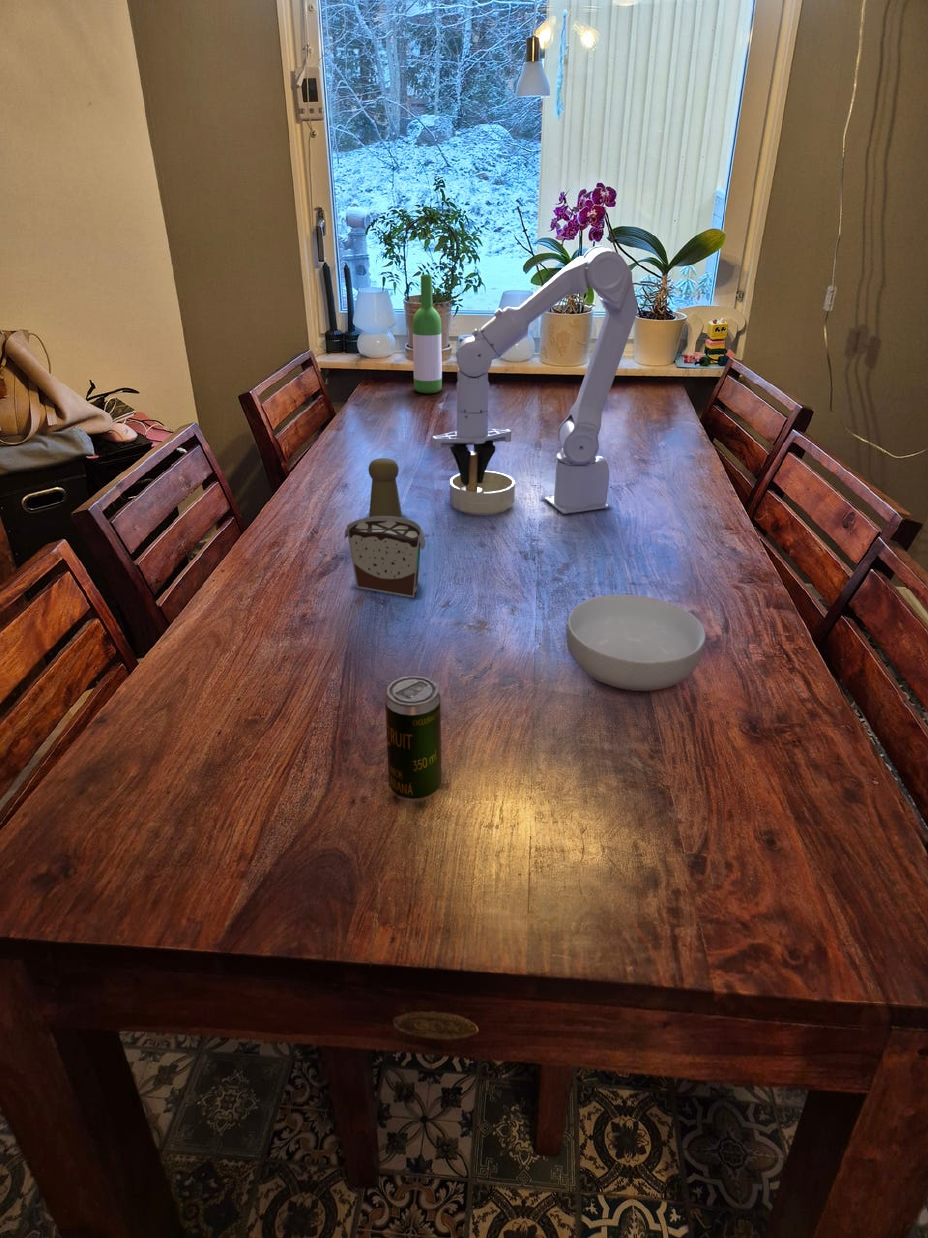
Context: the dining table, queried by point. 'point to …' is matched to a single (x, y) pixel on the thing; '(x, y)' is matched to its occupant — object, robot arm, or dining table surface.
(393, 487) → the cork
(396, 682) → the green soda can
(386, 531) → the food container
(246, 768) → the dining table surface
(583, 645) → the cereal bowl
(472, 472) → the pestle
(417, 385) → the wine bottle
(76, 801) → the dining table surface
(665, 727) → the dining table surface
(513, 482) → the beige round dish
